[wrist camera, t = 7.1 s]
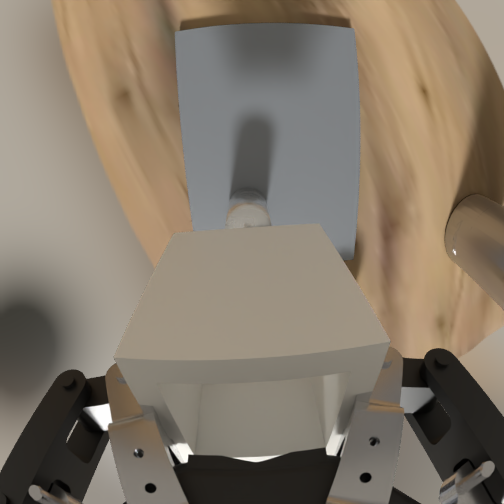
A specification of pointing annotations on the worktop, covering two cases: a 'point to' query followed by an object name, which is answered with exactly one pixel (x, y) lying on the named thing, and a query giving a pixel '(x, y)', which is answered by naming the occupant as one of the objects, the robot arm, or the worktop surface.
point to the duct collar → (252, 342)
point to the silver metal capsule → (247, 210)
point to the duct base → (272, 123)
